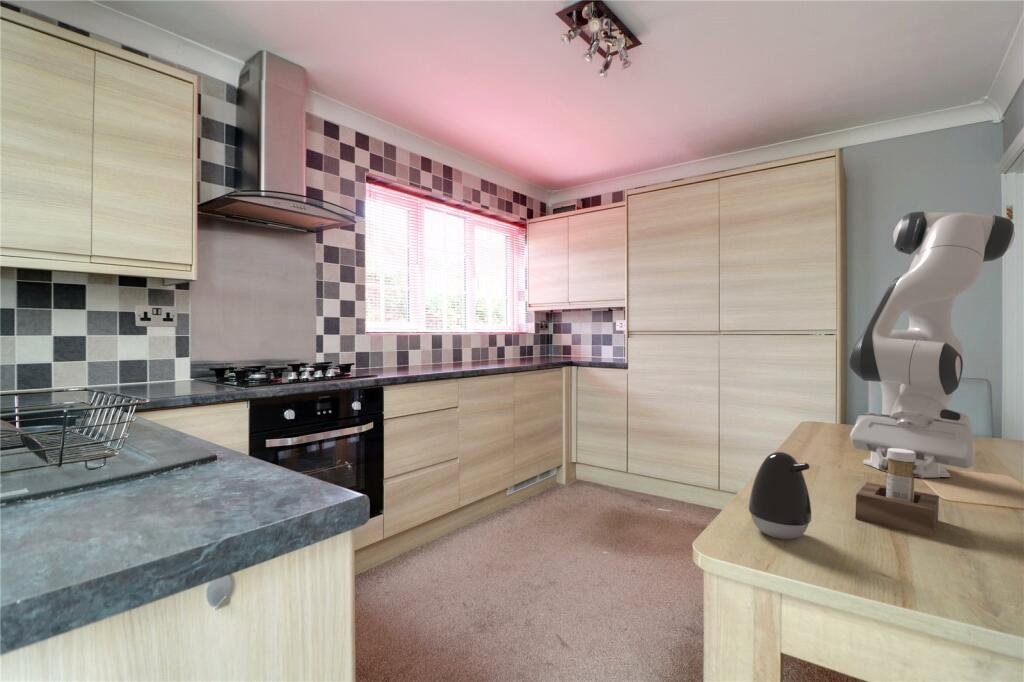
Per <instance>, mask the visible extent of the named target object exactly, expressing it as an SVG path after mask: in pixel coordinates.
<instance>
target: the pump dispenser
mask: <svg viewBox="0 0 1024 682" xmlns="http://www.w3.org/2000/svg"><path fill="white" fill-rule="evenodd" d="M809 469H810V465H809V463H807V462H806V463H805V462H804V463H798V462H797V460H796V459H795V458H794V457H793V455H791V454H789V453H787V452H783V451H777V452H776V451H775V452H772V453H770V454H768V455H767V456H766V458H765V459H763V461H762V463H761V464H760V467H759V468H758V471H757V473H756V475H755V478H754V481H753V484H752V487H751V491H750V495H749V496H750V497H749V500H748V501H749V502H748V511H749V513H750V515H751V516H750V517H751V519H752V522H753V523H754V525H755V527H756V528H757V529H758V530H759V531H760V532H762V533H763V534H765V535H767V536H769V537H772V538H775V539H779V540H794V539H797V538H800V537H801V536H802V535H803V534H804V533H805V532H806V531H807V530H808V527H809V524H810V523H811V522H812V506H811V499H810V498H811V497H810V493H809V489H808V484H807V482H806V479H805V477H804V473H803V471H807V470H809Z"/></svg>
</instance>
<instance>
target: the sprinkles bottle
mask: <svg viewBox="0 0 1024 682" xmlns="http://www.w3.org/2000/svg"><path fill="white" fill-rule="evenodd" d="M887 457H888V472H887V471H886V486H887V488H886V497H889V498H893V499H898V500H903V501H908V502H914V491H915V486H914V485H915V484H914V483H915V476H913V475H914V474H913V469H914V464H915V461H916V453H915V452H914V451H911V450H906V449H900V448H889V449H888V450H887Z"/></svg>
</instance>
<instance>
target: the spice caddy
mask: <svg viewBox="0 0 1024 682" xmlns="http://www.w3.org/2000/svg"><path fill="white" fill-rule="evenodd" d="M886 488H887V485H886V484H885V485H884V484H879V483H873V482H869V481H866V483H864V484H863V486H862V487H861V488H860V490H858V491H857V492H856V495H855V515H854V517H855V519H856V520H859V521H864V522H867V523H872V524H876V525H881V526H884V527H888V528H893V529H898V530H901V531H905V532H910V533H915V534H919V535H923V536H925V537H931V538H933V537H934V535H935V532H936V528H937V525H938V520H939V502H940V501H939V500H940V496H939V495H936V494H933V493H926V492H921V491H916V490H914V502H908V501H903V500H898V499H893V498H889V497H886Z"/></svg>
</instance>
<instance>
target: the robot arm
mask: <svg viewBox="0 0 1024 682" xmlns="http://www.w3.org/2000/svg"><path fill="white" fill-rule="evenodd" d="M1015 233H1016V232H1015V223H1014V222H1013V221H1012V219H1010V218H1009V217H1003V216H1000V215H995V214H994V215H987V214H980V213H974V212H973V213H971V212H962V211H961V212H960V211H958V212H948V211H947V212H946V211H945V212H943V211H941V212H938V211H937V212H936V211H935V212H924V210H923V211H914V212H912V211H911V212H909V213H907V214H906V215H904V216H903V217H902V219H901V220H899V222H898V223H897V224H896V226H895V228H894V231H893V233H892V235H893V238H892V240H893V244H894V249H896V250H897V251H898V252H899V253H902V254H906V255H909V256H911V255H914V258H913V259H912V262H911V264H910V266H909V269H908V271H907V272H905V273H904V274H902V275H900V276H898V277H895V278H894V279H893V280H892V281H891V283H890V284H889V285H888V288H887V289H886V290H885V292H884V294H883V295H882V297H881V300H880V301H879V303H878V305H877V306H876V309H875V310H874V312H873V314H872V316H871V318H870V320H869V321H868V324H867V325H866V327H865V329H864V330H863V332H862V334H861V335H860V336H859V338H858V339H857V340H856V341H855V343H854V345H853V346H852V349H851V352H850V356H849V367H850V369H851V370H852V371H853V373H854V374H855V375H856V376H857V377H858V378H860V379H862V381H864V382H879V385H880V389H881V396H882V397H881V403H882V404H881V413H874V412H866V413H863V414H861V415H858V416H857V418H856V421H855V425H854V426H853V427H852V430H851V431H850V434H849V440H850V443H851V445H852V446H853V448H854V449H856V450H860V451H861V450H862V451H867V452H870V457H868V458H865V459H863V461H862V463H863V464H864V465H867V466H870V467H874V468H875V469H878V470H881V471H883V472H884V471H885V472H886V473H887V472H888V457H887V450H888V449H889V448H900V449H906V450H911V451H914V452H915V453H916V461H915V464H914V469H913V474H914V475H913V476H914V478H921V479H924V478H940V477H950V478H951V476H950V475H951V474H950V473H949V472H948V470H946V467H944V466H943V465H945V466H950V467H951V466H952V467H956V468H961V469H962V468H963V469H970V468H971V467H974V465H975V461H976V460H975V459H976V446H975V441H974V437H973V431H974V430H973V425H972V422H971V420H970V418H969V416H968V415H967V414H965V413H962V412H959V411H955V410H952V409H950V408H948V405H949V403H950V402H951V401H952V397H953V394H954V392H955V391H956V390H957V389H958V388H959V385H960V383H961V382H960V381H961V378H962V373H963V366H964V365H963V364H964V363H963V352H964V348H963V344H962V343H961V340H960V339H959V338H958V337H957V336H956V335H955V334H954V332H953V328H952V323H951V322H952V321H951V316H952V311H953V307H954V304H955V300H956V297H957V296H959V295H961V294H963V293H965V292H967V291H968V290H969V289H971V288H972V287H973V286H974V285H975V284H976V283H977V281H978V278H979V275H981V274H980V273H981V269H982V266H983V263H984V262H992V261H995V260H997V259H999V258H1002V257H1003V256H1004V255H1005V254H1006V252H1008V250H1009V249H1011V246H1012V245H1013V243H1014V240H1015V236H1016V234H1015ZM902 313H904V314H905V315H907V316H908V319H909V320H908V321H909V323H908V329H894V327H895V326H896V324H897V322H898V320H899V318H900V316H901V315H902Z"/></svg>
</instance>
